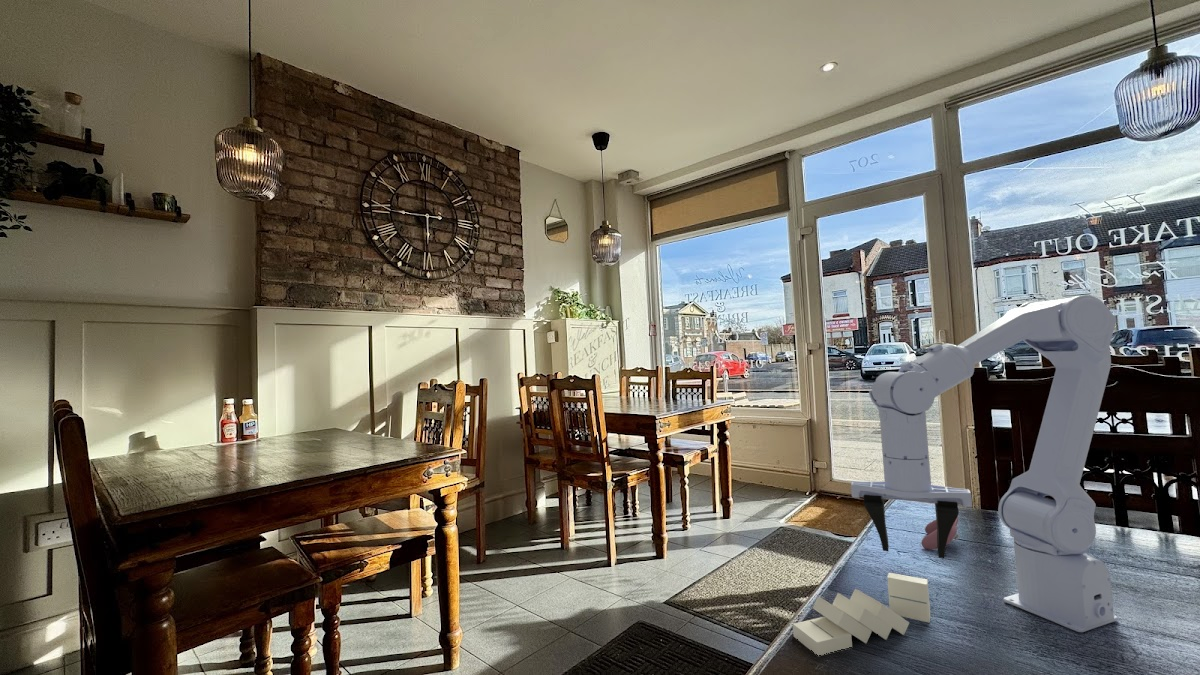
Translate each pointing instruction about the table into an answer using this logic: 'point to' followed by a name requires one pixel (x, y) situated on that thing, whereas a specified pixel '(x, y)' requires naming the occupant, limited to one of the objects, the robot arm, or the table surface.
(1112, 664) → the table surface
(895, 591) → the domino
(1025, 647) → the table surface
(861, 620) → the domino
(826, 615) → the domino
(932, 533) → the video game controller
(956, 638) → the table surface
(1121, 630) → the table surface
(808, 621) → the domino
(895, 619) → the domino
